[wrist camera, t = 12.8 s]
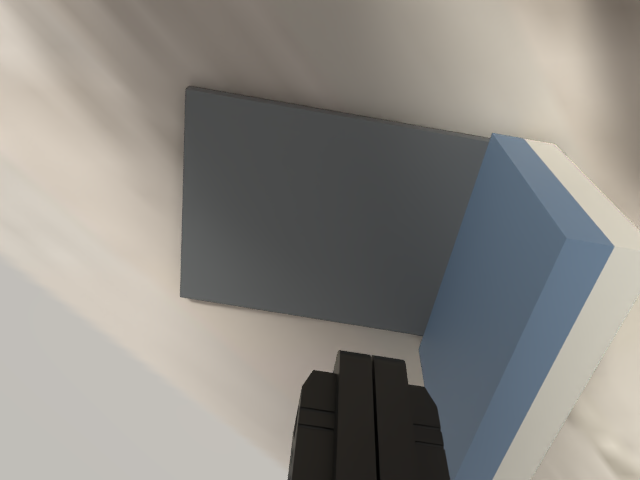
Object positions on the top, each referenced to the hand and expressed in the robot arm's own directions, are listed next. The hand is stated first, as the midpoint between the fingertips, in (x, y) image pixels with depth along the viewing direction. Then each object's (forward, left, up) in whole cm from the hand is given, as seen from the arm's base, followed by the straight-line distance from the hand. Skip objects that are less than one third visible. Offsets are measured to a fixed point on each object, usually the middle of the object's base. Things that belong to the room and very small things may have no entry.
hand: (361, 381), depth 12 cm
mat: (0, 0, -8) cm, 8 cm away
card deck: (+5, +4, -4) cm, 8 cm away
